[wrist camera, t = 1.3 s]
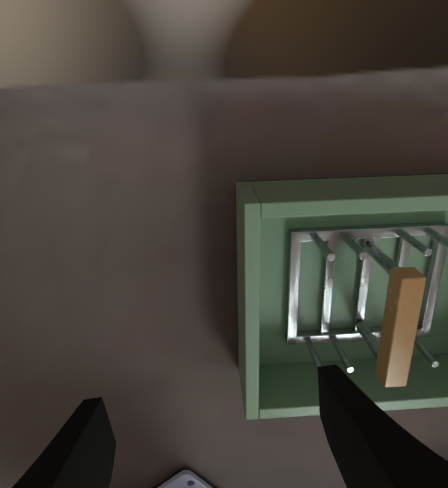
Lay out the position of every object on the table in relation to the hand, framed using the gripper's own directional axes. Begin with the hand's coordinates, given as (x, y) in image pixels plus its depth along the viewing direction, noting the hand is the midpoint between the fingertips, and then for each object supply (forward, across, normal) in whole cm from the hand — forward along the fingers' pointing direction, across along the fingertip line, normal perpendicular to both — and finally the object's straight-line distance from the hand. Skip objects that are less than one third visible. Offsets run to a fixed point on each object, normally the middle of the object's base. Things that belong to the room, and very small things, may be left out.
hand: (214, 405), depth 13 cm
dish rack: (+9, -8, +2) cm, 13 cm away
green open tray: (+10, -8, +2) cm, 13 cm away
